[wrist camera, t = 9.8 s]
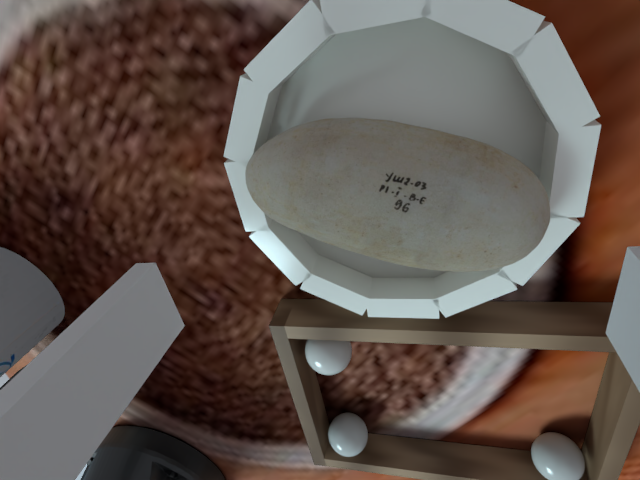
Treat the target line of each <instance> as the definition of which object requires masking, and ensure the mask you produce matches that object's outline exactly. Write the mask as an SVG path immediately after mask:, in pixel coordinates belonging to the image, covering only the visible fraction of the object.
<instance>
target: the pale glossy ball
mask: <svg viewBox="0 0 640 480" xmlns="http://www.w3.org/2000/svg"><path fill="white" fill-rule="evenodd" d="M328 437H329V442H330V444H331V446H332V448H333V449H334V450H335V451H336V452H337V453H338V454H340V455H342V456H345V457H353V456H356V455H358V454H359V453H360V452H362V451H363V449H364V448H365V446H366V444H367V440H368V431H367V427H366V425H365V423H364V421H363V420H362V419H361V418H360V417H359V416H357V415H355V414H353V413H342V414H340V415H338V416H336V417H335V418H334V419H333V421H332V422H331V424H330V427H329V431H328Z"/></svg>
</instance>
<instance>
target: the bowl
mask: <svg viewBox="0 0 640 480" xmlns="http://www.w3.org/2000/svg"><path fill="white" fill-rule="evenodd" d="M544 18H545V16H543V15H541V14H538V13H536V12H534V11H531V10H529V9H527V8H524V7H522V6H520V5H518V4H515V3H513V2H511V1H508V0H310V1H309V2H308V3H307V4H306V5H305V6H304V7H303V8H302V9H301V10H300V11H299V12H298V13H297V14H296V15H295V16H294V17H293V18H292V19H291V21H290V22H289V23H288V24H287V25H286V26H285V27H284V28H283V29H282V30H281V31H280V32H279V33H278V34H277V35H276V36H275V37H274V38H273V39H272V40H271V41H270V42H269V44H268V45H267V46H266V47H265V48H264V49H263V50H262V51H261V52H260V53H259V54H258V55H257V56H256V57H255V58H254V59H253V60H252V61H251V62H250V63H249V64H248V65H247V66H246V68H245V69H244V71H245V72H246V74H244V75H242V76H240V79H239V84H238V89H237V94H236V99H235V103H234V108H233V113H232V118H231V123H230V127H229V132H228V137H227V142H226V147H225V151H224V156H223V157H226V158H228V160H227V161H226V162H224V165H225V168H226V171H227V174H228V178H229V181H230V184H231V187H232V190H233V193H234V197H235V200H236V203H237V206H238V209H239V212H240V215H241V219H242V222H243V225H244V228H245V231H246V232H248V231H252V233H251V234H250V235H249V237H250V239H251V240H252V241H253V242H254V243H255V244H256V245H257V246H258V247H259V248H260V249H261V250H262V251H263V252H264V253H265V254H266V255H267V256H268V257H269V259H270V260H271V261H272V262H273V263H274V264H275V265H276V266H277V267H278V268H279V269H280V270H281V271H282V272H283V273H284V274H285V275H286V276H287V277H288V279H289V280H290V281H291V282H292V283H293V284H294V285H295V286H296V285H298V284H300V283H301V282H303V283H302V285H301V287H300V289H301V290H304V291H306V292H308V293H311V294H313V295H315V296H318V297H320V298H322V299H325V300H327V301H329V302H332V303H334V304H336V305H339V306H341V307H343V308H345V309H348V310H350V311H352V312H355V313H357V314H359V315H363V314H364V312H365V311H366V309H367V313H368V317H388V318H430V319H439V310H440V312H441V313H442V314H443V315H444V316H445V318H446V317H449V316H451V315H454V314H456V313H459V312H461V311H464V310H466V309H469V308H472V307H474V306H477V305H479V304H482V303H484V302H487V301H489V300H492V299H495V298H497V297H500V296H502V295H505V294H507V293H510V292H513V291H515V290H517V286H516V283H517V284H519V285H522V286H523V285H524V284H525V283H526V282H527V281H528V280H529V279H530V278H531V277H532V276H533V274H534V273H535V272H536V271H537V270H538V269H539V268H540V267H541V266H542V265H543V264H544V263H545V261H546V260H547V259H548V258H549V257H550V256H551V255H552V254H553V253H554V252H555V251H556V250H557V248H558V247H559V246H560V245H561V244H562V243H563V242H564V241H565V240H566V239H567V238H568V237H569V235H570V234H571V233H572V232H573V231H574V230H575V229H576V228H577V227H578V226H579V225H580V222H579V221H578V219H577V218H576V217H584V214H585V209H586V204H587V198H588V193H589V188H590V183H591V177H592V172H593V167H594V161H595V156H596V151H597V146H598V140H599V135H600V130H601V124H600V123H598V122H597V121H596V120H595V119H596V118H598V117H600V115H599V113H598V111H597V109H596V107H595V105H594V103H593V101H592V99H591V97H590V95H589V93H588V91H587V90H586V88H585V86H584V84H583V82H582V80H581V78H580V76H579V74H578V72H577V70H576V68H575V66H574V64H573V62H572V60H571V59H570V57H569V55H568V53H567V51H566V49H565V47H564V45H563V43H562V41H561V39H560V37H559V35H558V33H557V31H556V30H555V28H554V26H553V24H552V23H551V22H546V21H543V20H544ZM330 118H365V119H377V120H389V121H395V122H400V123H404V124H409V125H414V126H419V127H424V128H429V129H434V130H438V131H442V132H446V133H450V134H454V135H458V136H462V137H467V138H470V139H473V140H476V141H479V142H483V143H486V144H488V145H490V146H493V147H495V148H497V149H499V150H501V151H503V152H505V153H507V154H509V155H511V156H512V157H514V158H516V159H518V160H519V161H521V162H522V163H523V164H525V165H526V166H527V167H528V168H530V169H531V170H532V171H533V173H534V174H535V175H536V176H537V177H538V179H539V180H540V181H541V183H542V184H543V186H544V188H545V190H546V192H547V195H548V199H549V204H550V223H549V225H548V228H547V230H546V233H545V235H544V237H543V239H542V240H541V242H540V243H539V245H538V246H537V247H536V248H535V249H534V250H533V251H532V252H531V253H530V254H528V255H527V256H526V257H524V258H523V259H521V260H519V261H517V262H515V263H513V264H511V265H508V266H504V267H501V268H497V269H492V270H484V271H470V272H453V271H437V270H429V269H421V268H414V267H408V266H403V265H399V264H394V263H390V262H386V261H383V260H379V259H376V258H372V257H369V256H366V255H362V254H359V253H355V252H352V251H348V250H345V249H342V248H339V247H336V246H333V245H330V244H328V243H325V242H322V241H319V240H317V239H315V238H312V237H310V236H308V235H305V234H303V233H301V232H298V231H295V230H293V229H290V228H288V227H285V226H283V225H282V224H280V223H278V222H276V221H275V220H273V219H272V218H270V217H269V216H267V215H266V214H265V213H264V212H263V211H262V210H261V209H260V208H259V207H258V206H257V204H256V203H255V202H254V201H253V199H252V197H251V195H250V193H249V191H248V188H247V185H246V177H245V172H246V166H247V163H248V162H249V160H250V158H251V157H252V155H253V154H254V153H255V152H256V151H257V150H258V149H259V148H260V147H261V146H262V145H263V144H264V143H266V142H267V141H269V140H270V139H272V138H274V137H275V136H277V135H279V134H281V133H282V132H284V131H286V130H288V129H290V128H292V127H295V126H298V125H301V124H304V123H308V122H312V121H316V120H321V119H330Z"/></svg>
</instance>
